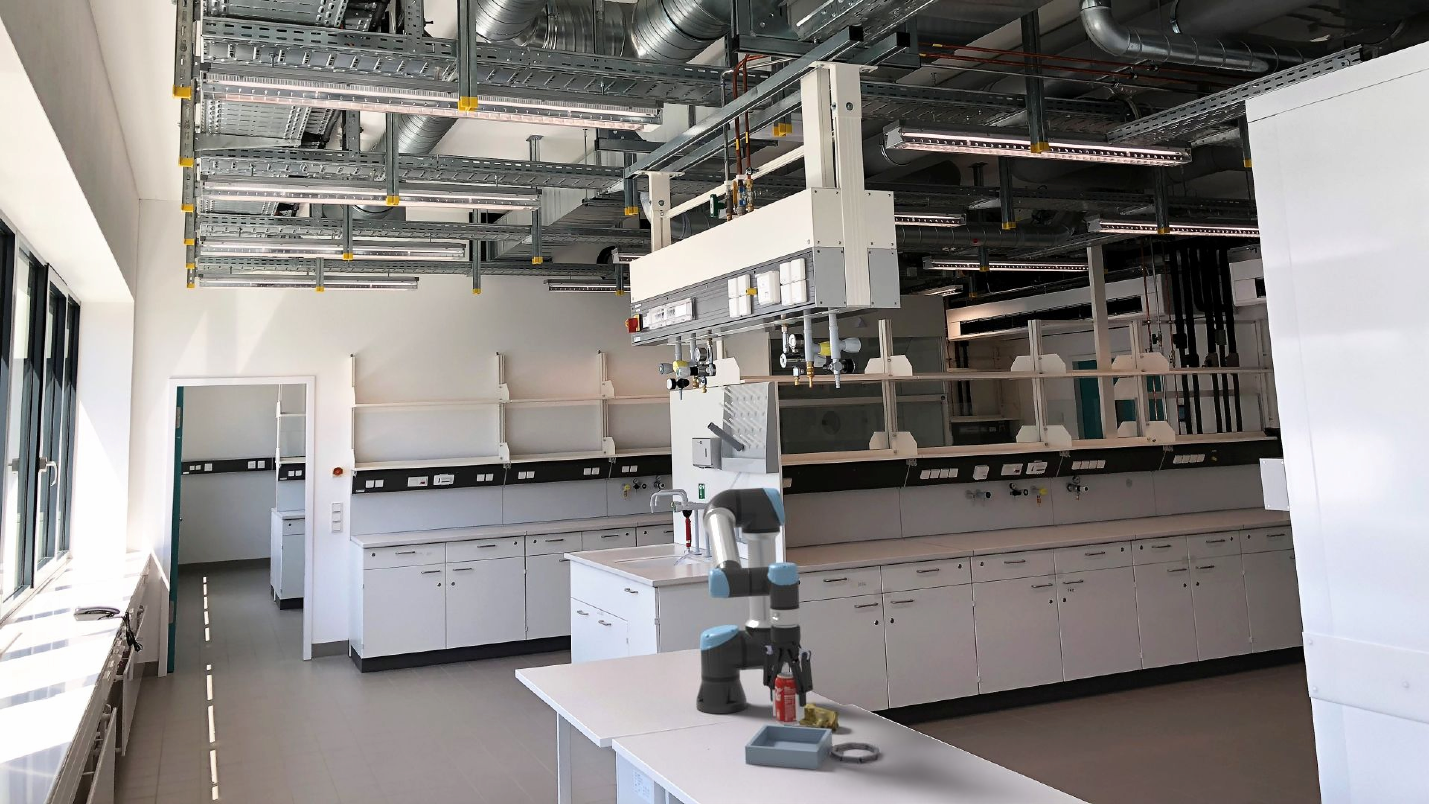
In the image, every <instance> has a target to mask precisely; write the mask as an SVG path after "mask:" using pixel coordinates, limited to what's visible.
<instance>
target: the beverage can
mask: <svg viewBox="0 0 1429 804" xmlns="http://www.w3.org/2000/svg"><path fill="white" fill-rule="evenodd" d="M797 692H798V691H797V688H796V684H795V681H794V678H793V674H792V671H791V672H789V671H788V672H785V671H784V672H781V673H779V674H777V678H776V679H775V698H776V716H775V719H776V721H777V722H779V724H780V725H781V726H784V725H786V726H796V725H797V724H799V721H800V720H799V721H797V720H796V704H795V694H796V693H797Z"/></svg>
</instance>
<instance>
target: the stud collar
mask: <svg viewBox="0 0 1429 804" xmlns="http://www.w3.org/2000/svg"><path fill="white" fill-rule="evenodd" d="M832 746H833V747H831V749H830V757H831V758H834V759H835V760H836V761H839V762H842V763H851V764H865V763H868V762H870V763H871V762H874V761H877V760H878V759H879V756H880V748H879V747H878V746H875V745H872V744H871V743H867V742H854V741H853V742H852V741H850V742H844V743H839V744H838V743H837V744H834V745H832ZM848 749H857V750H867V751H868V752H871V753H872V754H867V755H863V756H853V755H852V756H850V755H843V754H842V753H839V752H838V751H844V750H848Z"/></svg>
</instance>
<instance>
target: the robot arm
mask: <svg viewBox="0 0 1429 804" xmlns="http://www.w3.org/2000/svg"><path fill="white" fill-rule="evenodd" d="M702 524H703V528H704V530H705V532H707V534H708V539H709V547H710V552H711V558H712V559H711V560H712V564H713V569H710V570H709V571H708V576H707V577H708V589H709V591H708V593H709V596H710V597H712V598H714V599H715V598H716V599H717V598H718V599H721V598H722V599H730V598H731V599H732V598H747V597H749V598H748V599H749V619H748V620H747V621H746V622H745V625H744V629H742V630H741V629H740V628H739V627H738V625H735V624H725V625H718V626H715V627H710V628H708V629H706V630H704V631H703V632H702V633H701V634H700V639H699V640H700V641H699V642H700V643H699V651H700V673H701V674H700V675H701V679H700V680H701V682H700V685H699V687H698V688H699V689H698V692H697V696H696V700H695V701H696V702H695V703H696V704H695V705H696V707H695V708H696V709H697V710H699V711H700V712H704V713H707V714H708V713H709V714H729V713H730V714H732V713H736V712H741V711H743V710H744V709H746V708H747V707H748V705H747V704H748V703H747V701H748V700H747V696H746V692H745V690H744V687H743V684H742V681H741V673H740V672H741V671H753V670H754V671H755V670H763V673H762V674H763V675H762V684H763V686H764V687H768V689H769V692H770V693H769V698H770V702H772V716H773V717H776V698H775V679H776V678H777V674H779V673H783V672H782V671H783V668H784V667H785V666H786V665H788V667H789V668H790V670H791V672H792V674H793V678H794V681H795V684H796V688H797V691H798V692H797V693H796V694H795V704H796V720H797V721H799V720H801V719H804V718H805V716H804V706H806V703H807V693H809V692H811V691H813V689H814V684H813V676H812V675H813V674H812V665H811V658H812V651H811V650H805V649H802V645H801V636H802V635H801V632H802V631H801V625H800V623H801V612H800V611H801V610H800V589H799V587H800V585H799V582H800V575H799V570H798V569H799V568H798V565H797V564H796V563H794V562H786V561H785V562H783V561H782V562H777V548H776V547H777V545H776V542H777V541H776V538H777V537H778V535H779V534H780V533H781V527H784V526H785V524H786V513H785V507H784V503H783V498H782V495H781V493H780V491H779V490H778V489H777V488H774V487H754V488H736V489H735V488H731V489H730V488H729V489H725V490H722V491H720V492H719V493H716V494H715V495H714V496H713V497H712V498H711V499H710V500H709V501H708V503H707V504H706V506H705V507H704V509H703V515H702ZM736 528H738V529H739V528H741V534H742V536H744V537H745V538H746V540H747V541H746V544H747V565H748V567H743V566H742V562H741V557H740V553H739V547H738V542H737V536H736V533H735V529H736Z"/></svg>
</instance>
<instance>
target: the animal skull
mask: <svg viewBox="0 0 1429 804" xmlns="http://www.w3.org/2000/svg"><path fill="white" fill-rule="evenodd" d="M815 705H816V702H806V706H804V716H805V718H804V719H801V720H800V721H799V722H798V724H799V727H802V726H804V727H809V728H823V729H832V734H834V733H833V732H834V731H837V730H838V729H839V727H840V724H839V722H838V721H839V719H838V718H839V712H838V711H835V710H829V709H826V708H822V707H818V706H815ZM783 726H787V725H783Z"/></svg>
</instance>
